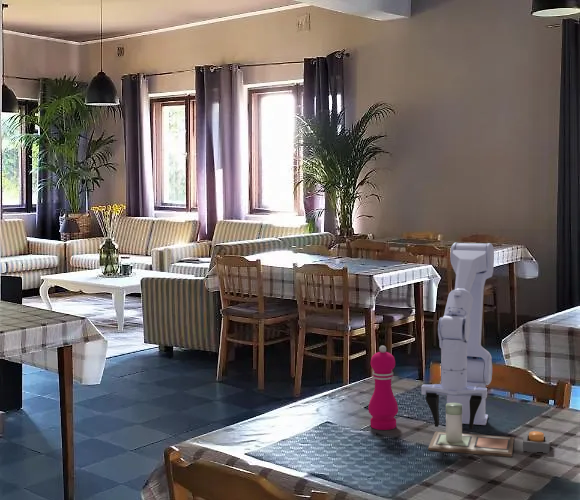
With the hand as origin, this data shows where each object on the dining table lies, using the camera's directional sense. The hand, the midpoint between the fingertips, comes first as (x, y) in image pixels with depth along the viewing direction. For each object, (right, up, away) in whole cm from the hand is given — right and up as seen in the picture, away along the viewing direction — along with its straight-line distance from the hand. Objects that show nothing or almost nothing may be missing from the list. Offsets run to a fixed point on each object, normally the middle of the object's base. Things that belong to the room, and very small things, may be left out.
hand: (454, 426), depth 195 cm
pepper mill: (-15, -3, +14) cm, 21 cm away
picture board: (+4, -4, -1) cm, 6 cm away
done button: (+18, -2, -4) cm, 18 cm away
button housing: (+18, -4, -4) cm, 18 cm away
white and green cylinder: (0, -3, 0) cm, 3 cm away
